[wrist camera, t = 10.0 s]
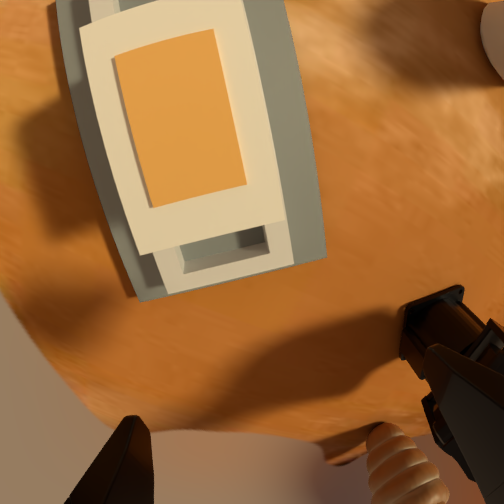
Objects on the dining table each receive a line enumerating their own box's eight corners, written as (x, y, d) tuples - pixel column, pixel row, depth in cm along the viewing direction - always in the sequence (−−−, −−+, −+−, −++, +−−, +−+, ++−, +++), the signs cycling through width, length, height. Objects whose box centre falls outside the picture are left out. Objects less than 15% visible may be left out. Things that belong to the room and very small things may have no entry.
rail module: (223, 32, 13) (237, -18, 7) (254, 176, 17) (286, 221, 10) (127, 57, 13) (77, 27, 7) (163, 198, 17) (139, 257, 10)
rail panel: (262, -55, 12) (270, -74, 9) (321, 250, 21) (335, 268, 18) (61, -3, 11) (44, -14, 9) (142, 293, 20) (136, 316, 18)
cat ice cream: (339, 450, 33) (382, 568, 17) (354, 417, 30) (413, 555, 14) (398, 434, 35) (448, 537, 18) (419, 399, 31) (485, 514, 15)
